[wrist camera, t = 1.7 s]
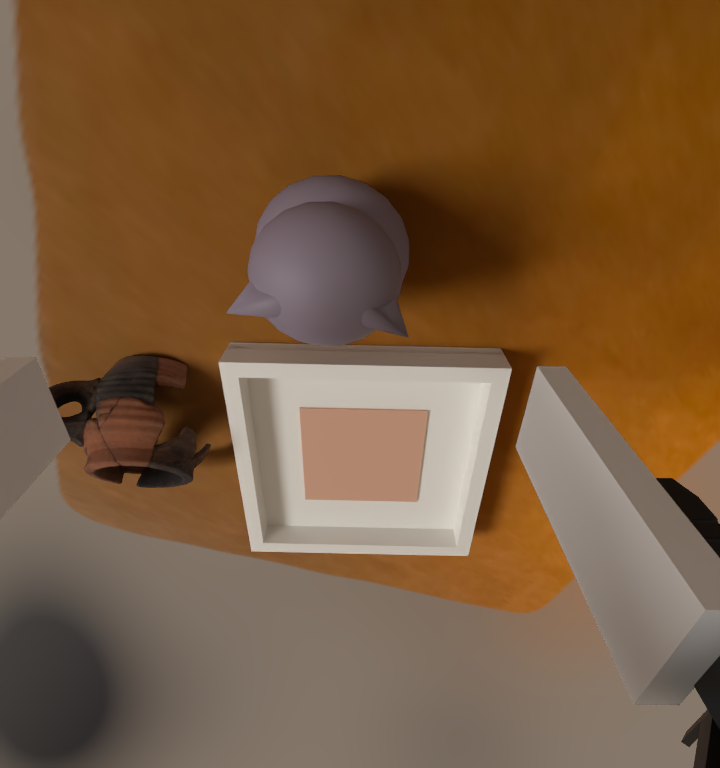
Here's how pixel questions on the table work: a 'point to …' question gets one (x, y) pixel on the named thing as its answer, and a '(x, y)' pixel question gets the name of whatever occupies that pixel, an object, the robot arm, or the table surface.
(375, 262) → the cat figurine
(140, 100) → the table surface
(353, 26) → the table surface
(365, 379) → the tray
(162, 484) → the pottery mug
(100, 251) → the table surface
